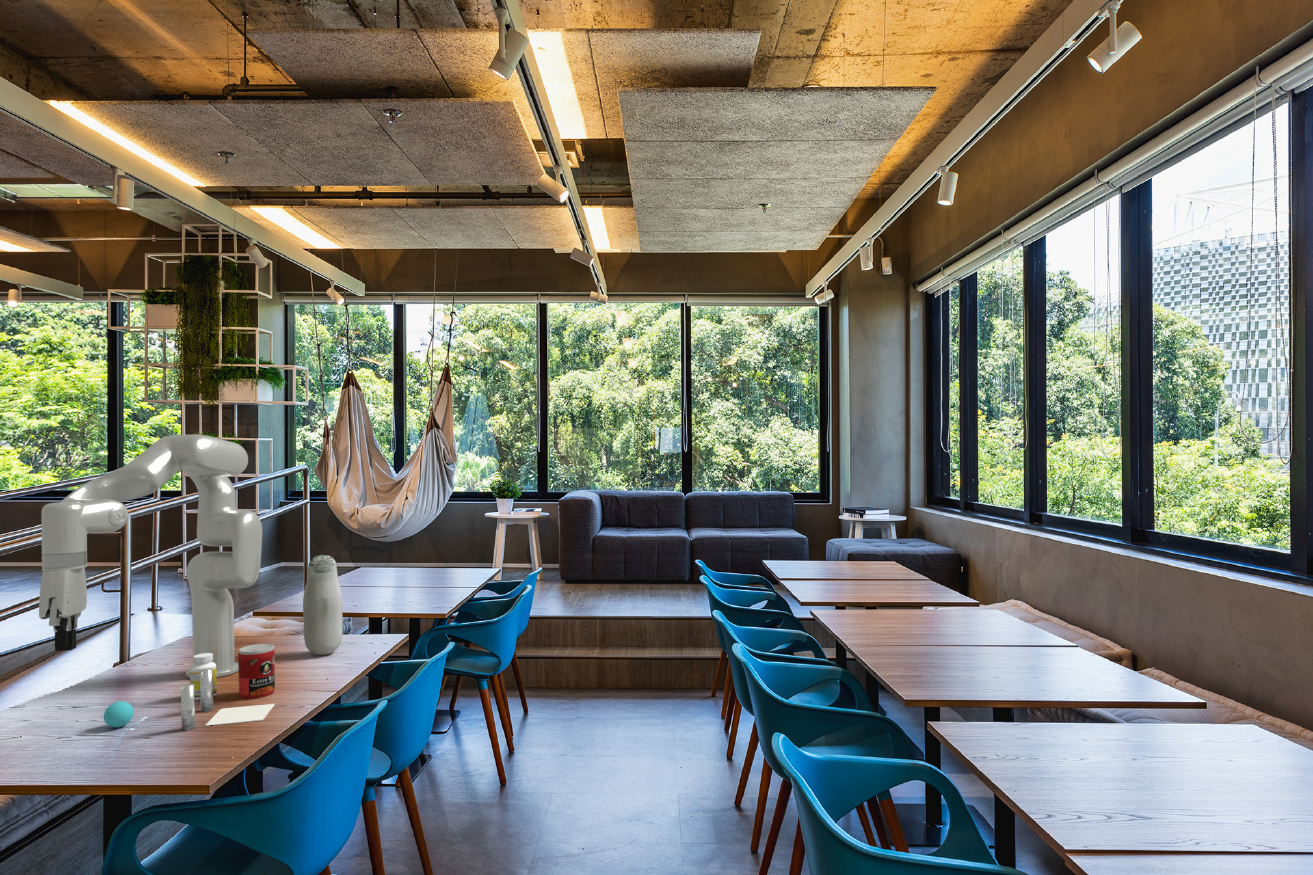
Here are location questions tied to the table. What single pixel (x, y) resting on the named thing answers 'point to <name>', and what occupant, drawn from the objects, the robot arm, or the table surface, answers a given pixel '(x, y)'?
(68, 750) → the table surface
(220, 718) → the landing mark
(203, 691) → the post
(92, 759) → the table surface
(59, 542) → the robot arm
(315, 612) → the grey bottle
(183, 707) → the post
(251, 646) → the canned food
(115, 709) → the ball
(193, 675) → the supplement bottle
